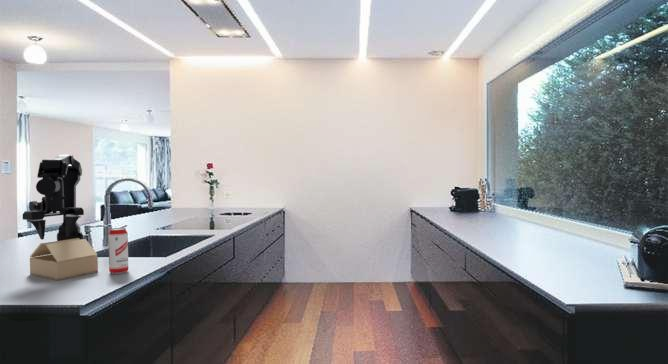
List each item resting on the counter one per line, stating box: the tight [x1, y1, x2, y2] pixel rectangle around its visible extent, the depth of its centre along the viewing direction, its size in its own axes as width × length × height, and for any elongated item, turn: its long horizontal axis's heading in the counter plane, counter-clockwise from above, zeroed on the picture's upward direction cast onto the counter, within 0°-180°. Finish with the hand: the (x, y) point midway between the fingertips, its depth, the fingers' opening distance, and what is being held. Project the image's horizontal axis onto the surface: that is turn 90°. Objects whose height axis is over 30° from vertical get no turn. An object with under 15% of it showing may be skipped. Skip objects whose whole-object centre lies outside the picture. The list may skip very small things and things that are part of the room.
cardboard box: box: [29, 254, 99, 281], centre depth 157 cm, size 14×18×6 cm
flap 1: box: [29, 238, 80, 258], centre depth 160 cm, size 14×9×1 cm
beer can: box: [107, 227, 129, 275], centre depth 157 cm, size 6×6×16 cm
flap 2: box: [46, 238, 98, 262], centre depth 154 cm, size 14×9×1 cm
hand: (55, 237), depth 155 cm, fingers open, 9 cm apart
